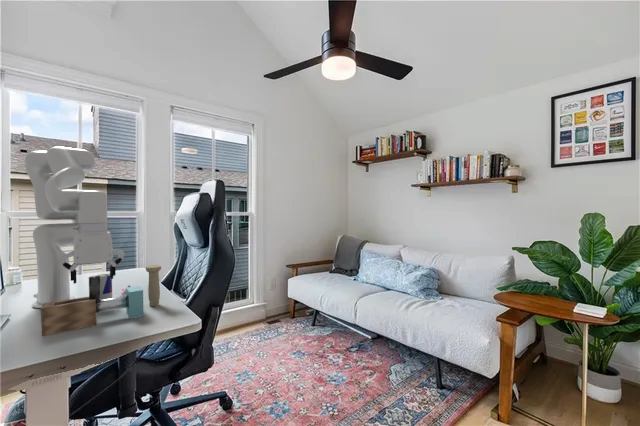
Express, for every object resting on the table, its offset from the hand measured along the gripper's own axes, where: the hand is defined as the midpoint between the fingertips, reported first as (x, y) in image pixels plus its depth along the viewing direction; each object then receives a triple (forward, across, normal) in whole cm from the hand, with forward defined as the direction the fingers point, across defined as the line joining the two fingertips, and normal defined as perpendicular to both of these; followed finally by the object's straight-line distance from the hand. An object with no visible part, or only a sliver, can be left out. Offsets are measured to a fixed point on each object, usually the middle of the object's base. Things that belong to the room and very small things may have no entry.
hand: (93, 280), depth 99 cm
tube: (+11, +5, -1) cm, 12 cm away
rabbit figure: (+15, +13, +26) cm, 32 cm away
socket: (+14, +11, -1) cm, 18 cm away
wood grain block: (+14, -6, -1) cm, 15 cm away
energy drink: (+14, +4, +17) cm, 22 cm away
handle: (+14, +19, +6) cm, 24 cm away
